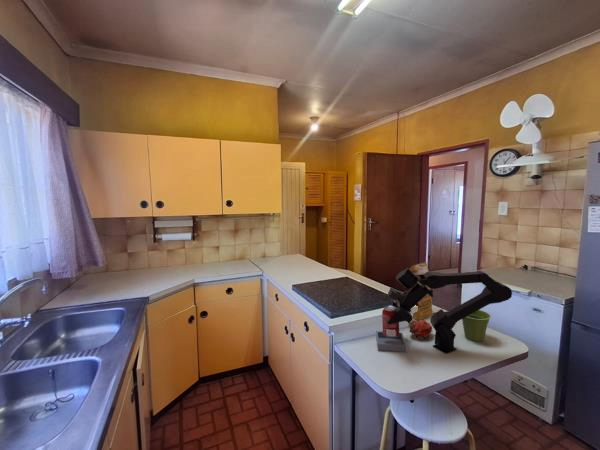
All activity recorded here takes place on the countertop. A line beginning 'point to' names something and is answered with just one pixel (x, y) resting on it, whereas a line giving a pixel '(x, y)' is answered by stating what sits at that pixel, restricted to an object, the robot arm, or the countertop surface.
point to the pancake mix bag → (426, 302)
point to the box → (390, 343)
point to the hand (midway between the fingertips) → (387, 320)
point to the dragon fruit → (420, 328)
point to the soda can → (390, 329)
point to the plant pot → (476, 325)
